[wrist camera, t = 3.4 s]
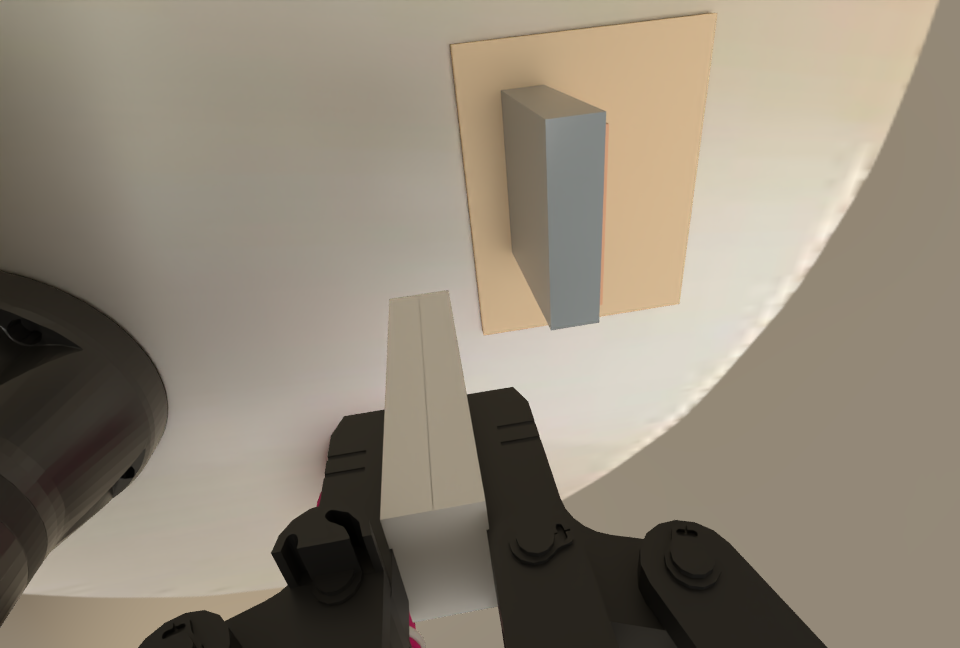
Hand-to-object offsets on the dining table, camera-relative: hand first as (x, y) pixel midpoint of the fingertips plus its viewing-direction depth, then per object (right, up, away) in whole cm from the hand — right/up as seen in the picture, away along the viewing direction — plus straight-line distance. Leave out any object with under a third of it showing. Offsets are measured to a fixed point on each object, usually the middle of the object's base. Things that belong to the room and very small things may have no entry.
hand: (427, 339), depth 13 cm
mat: (+7, +7, +13) cm, 16 cm away
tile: (+4, +8, +12) cm, 15 cm away
